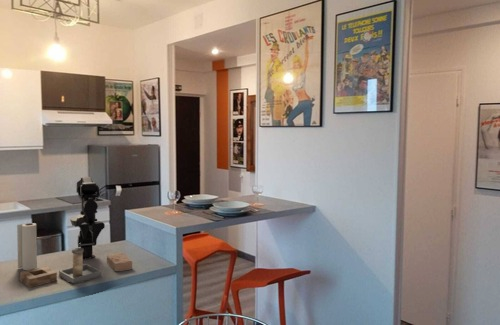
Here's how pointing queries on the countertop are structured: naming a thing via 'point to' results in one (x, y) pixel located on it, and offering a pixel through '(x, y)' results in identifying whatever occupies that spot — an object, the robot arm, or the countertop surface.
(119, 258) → the brick
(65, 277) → the tray
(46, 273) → the socket block
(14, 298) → the countertop surface
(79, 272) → the pin
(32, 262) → the paper towel roll
